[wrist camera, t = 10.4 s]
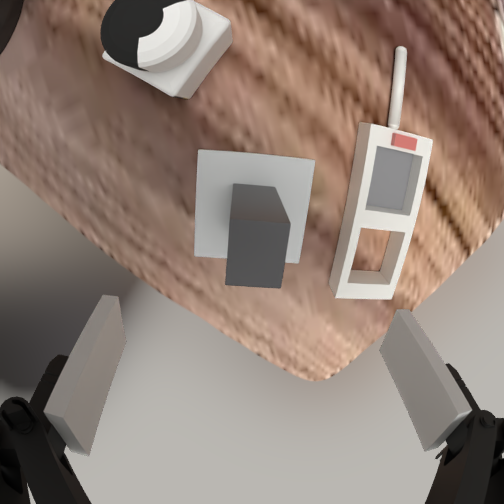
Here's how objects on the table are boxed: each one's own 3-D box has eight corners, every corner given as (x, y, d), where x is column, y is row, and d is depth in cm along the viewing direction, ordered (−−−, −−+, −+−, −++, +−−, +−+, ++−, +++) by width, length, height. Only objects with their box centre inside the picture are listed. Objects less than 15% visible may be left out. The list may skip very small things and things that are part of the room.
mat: (198, 149, 28) (198, 149, 28) (314, 159, 29) (315, 160, 28) (194, 254, 33) (194, 256, 32) (298, 261, 34) (298, 263, 33)
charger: (233, 183, 29) (229, 218, 20) (275, 186, 29) (290, 223, 20) (229, 232, 31) (225, 285, 22) (269, 234, 32) (280, 288, 23)
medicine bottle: (129, 66, 24) (67, 48, 13) (172, 7, 22) (135, -43, 11) (189, 101, 26) (155, 95, 15) (234, 41, 24) (230, -2, 13)
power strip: (368, 37, 23) (383, 30, 20) (426, 57, 24) (445, 54, 20) (328, 283, 35) (336, 301, 32) (381, 285, 35) (393, 302, 32)
